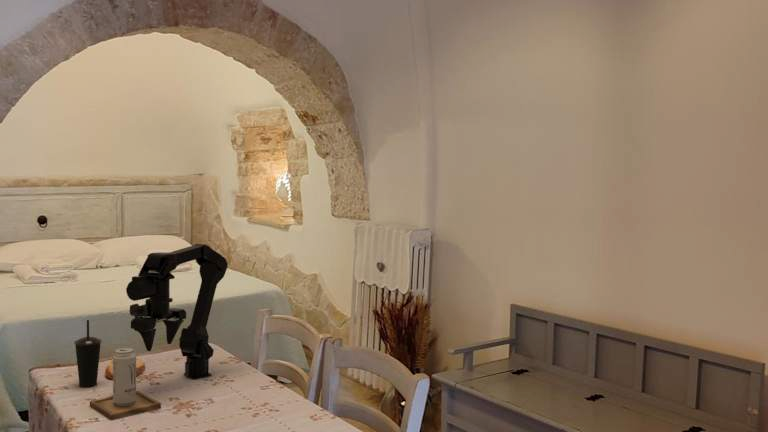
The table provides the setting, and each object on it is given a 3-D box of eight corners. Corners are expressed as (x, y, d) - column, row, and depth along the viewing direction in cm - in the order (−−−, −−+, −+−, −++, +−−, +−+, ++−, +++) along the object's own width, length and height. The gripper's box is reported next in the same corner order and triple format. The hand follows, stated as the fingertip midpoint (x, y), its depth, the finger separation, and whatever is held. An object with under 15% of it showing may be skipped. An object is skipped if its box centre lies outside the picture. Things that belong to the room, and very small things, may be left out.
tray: (138, 395, 203) (138, 390, 203) (160, 408, 193) (160, 402, 193) (89, 406, 193) (89, 401, 193) (110, 420, 183) (110, 414, 183)
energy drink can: (130, 407, 190) (129, 353, 189) (108, 406, 191) (108, 352, 190) (140, 400, 196) (140, 347, 195) (119, 399, 197) (119, 346, 196)
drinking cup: (91, 390, 207) (91, 323, 206) (68, 388, 209) (68, 322, 208) (107, 382, 215) (106, 318, 214) (84, 380, 216) (84, 316, 215)
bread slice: (126, 361, 240) (126, 350, 240) (163, 369, 231) (163, 358, 231) (80, 373, 224) (80, 362, 224) (119, 383, 216) (119, 371, 215)
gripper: (157, 288, 218) (157, 337, 220) (115, 298, 201) (115, 351, 202) (187, 291, 215) (187, 341, 216) (146, 301, 197) (146, 356, 198)
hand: (159, 347), depth 208 cm, fingers open, 9 cm apart
